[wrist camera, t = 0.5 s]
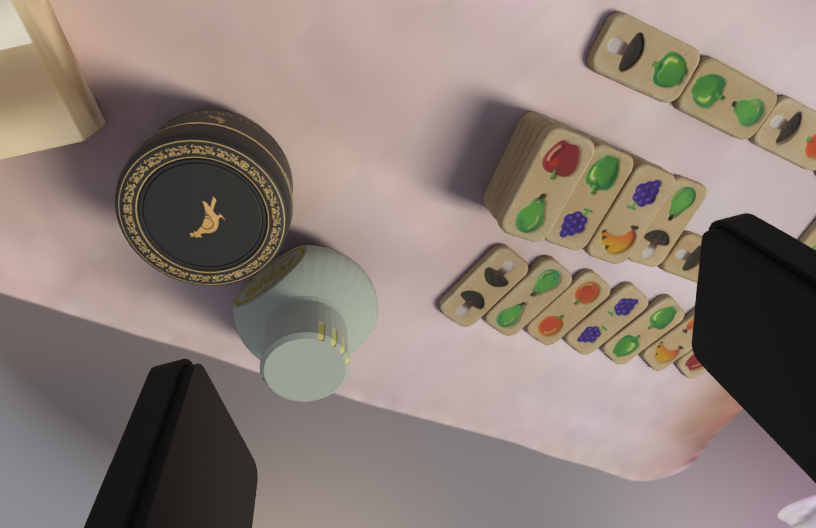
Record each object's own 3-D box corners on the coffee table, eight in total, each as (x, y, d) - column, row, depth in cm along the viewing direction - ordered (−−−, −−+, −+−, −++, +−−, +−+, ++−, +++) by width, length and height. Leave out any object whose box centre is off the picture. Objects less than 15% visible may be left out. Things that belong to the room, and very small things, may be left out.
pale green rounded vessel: (327, 216, 40) (329, 283, 31) (390, 286, 44) (408, 363, 35) (221, 294, 42) (196, 379, 33) (291, 355, 46) (284, 444, 37)
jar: (298, 110, 36) (294, 142, 29) (293, 240, 41) (288, 293, 34) (141, 94, 34) (99, 123, 27) (154, 232, 39) (121, 287, 32)
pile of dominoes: (423, 310, 46) (435, 349, 42) (578, -11, 35) (618, -8, 31) (713, 385, 57) (749, 423, 52) (901, 156, 46) (969, 178, 41)
